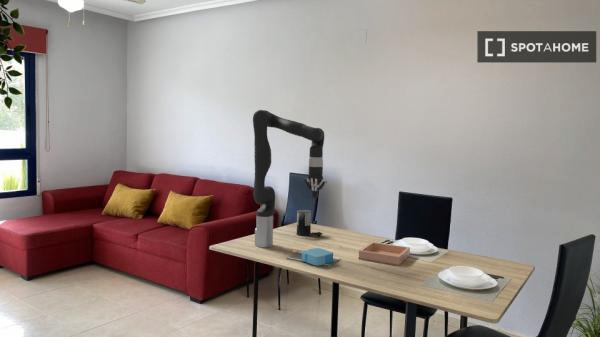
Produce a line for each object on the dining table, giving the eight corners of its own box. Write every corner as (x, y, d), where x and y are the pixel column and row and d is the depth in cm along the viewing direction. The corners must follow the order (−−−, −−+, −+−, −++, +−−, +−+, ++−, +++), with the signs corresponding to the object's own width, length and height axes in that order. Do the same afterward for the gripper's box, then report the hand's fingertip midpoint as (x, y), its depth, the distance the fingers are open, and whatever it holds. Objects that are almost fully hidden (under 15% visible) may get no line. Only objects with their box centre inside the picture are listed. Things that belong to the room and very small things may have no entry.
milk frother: (295, 232, 285) (296, 209, 283) (320, 232, 286) (321, 209, 285) (297, 238, 271) (297, 213, 269) (323, 238, 272) (323, 214, 270)
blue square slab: (300, 260, 225) (317, 266, 216) (300, 251, 224) (317, 257, 216) (317, 256, 233) (334, 261, 224) (317, 247, 233) (334, 252, 224)
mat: (286, 258, 229) (286, 257, 229) (298, 253, 240) (298, 251, 240) (329, 266, 218) (329, 265, 218) (339, 260, 228) (339, 259, 228)
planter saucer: (358, 259, 231) (358, 250, 231) (371, 249, 249) (371, 241, 248) (399, 265, 221) (399, 257, 221) (409, 255, 239) (410, 247, 238)
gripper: (301, 165, 240) (300, 197, 242) (324, 166, 234) (323, 199, 236) (307, 164, 247) (307, 195, 249) (330, 165, 241) (329, 197, 242)
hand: (315, 197), depth 242 cm, fingers closed
